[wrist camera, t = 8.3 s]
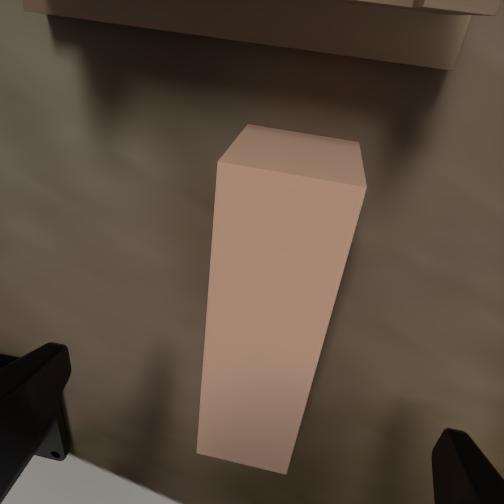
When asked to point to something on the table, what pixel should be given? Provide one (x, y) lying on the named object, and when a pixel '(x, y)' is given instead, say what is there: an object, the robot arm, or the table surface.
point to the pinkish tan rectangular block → (273, 286)
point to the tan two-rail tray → (302, 23)
